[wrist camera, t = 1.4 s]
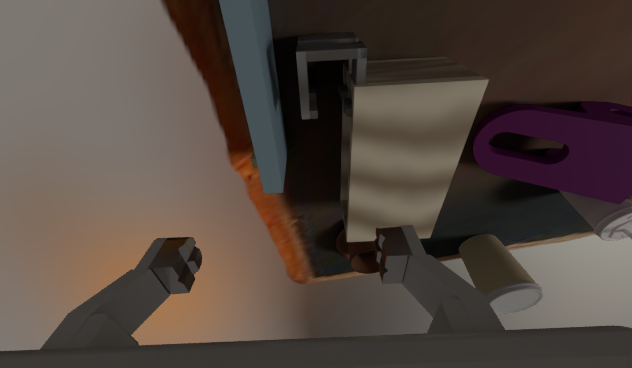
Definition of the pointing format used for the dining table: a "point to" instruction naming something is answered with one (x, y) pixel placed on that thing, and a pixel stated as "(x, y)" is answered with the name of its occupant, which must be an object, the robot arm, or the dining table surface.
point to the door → (258, 86)
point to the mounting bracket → (564, 148)
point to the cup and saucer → (358, 254)
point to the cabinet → (393, 131)
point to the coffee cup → (499, 275)
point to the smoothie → (604, 216)
